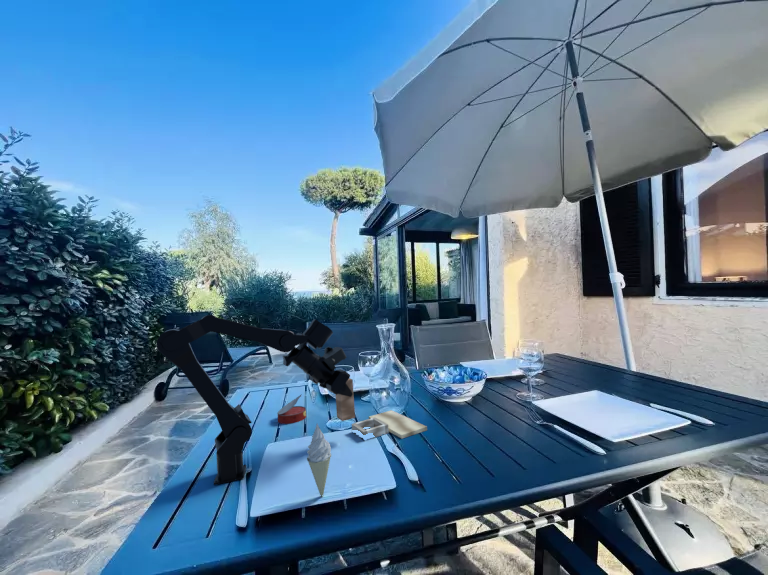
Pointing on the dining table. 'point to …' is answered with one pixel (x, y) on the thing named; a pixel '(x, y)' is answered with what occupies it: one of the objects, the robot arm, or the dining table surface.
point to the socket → (389, 425)
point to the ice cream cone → (319, 458)
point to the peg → (345, 404)
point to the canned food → (291, 413)
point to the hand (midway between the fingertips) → (348, 393)
